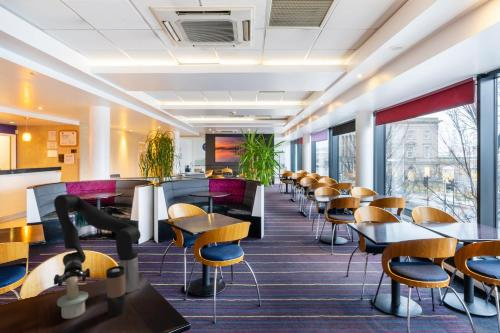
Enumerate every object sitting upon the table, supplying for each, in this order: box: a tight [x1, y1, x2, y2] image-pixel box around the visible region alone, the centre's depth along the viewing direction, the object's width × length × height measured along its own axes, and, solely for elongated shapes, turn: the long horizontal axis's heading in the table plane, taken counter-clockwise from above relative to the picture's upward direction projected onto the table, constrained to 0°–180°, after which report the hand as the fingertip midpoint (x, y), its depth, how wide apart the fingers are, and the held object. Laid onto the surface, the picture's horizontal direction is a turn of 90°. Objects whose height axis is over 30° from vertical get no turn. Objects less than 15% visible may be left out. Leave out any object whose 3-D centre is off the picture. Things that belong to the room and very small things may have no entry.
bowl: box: [60, 300, 86, 320], centre depth 125 cm, size 9×9×6 cm
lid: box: [56, 276, 89, 308], centre depth 125 cm, size 12×12×10 cm
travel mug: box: [105, 265, 126, 317], centre depth 125 cm, size 8×8×20 cm
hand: (72, 282), depth 123 cm, fingers open, 8 cm apart
